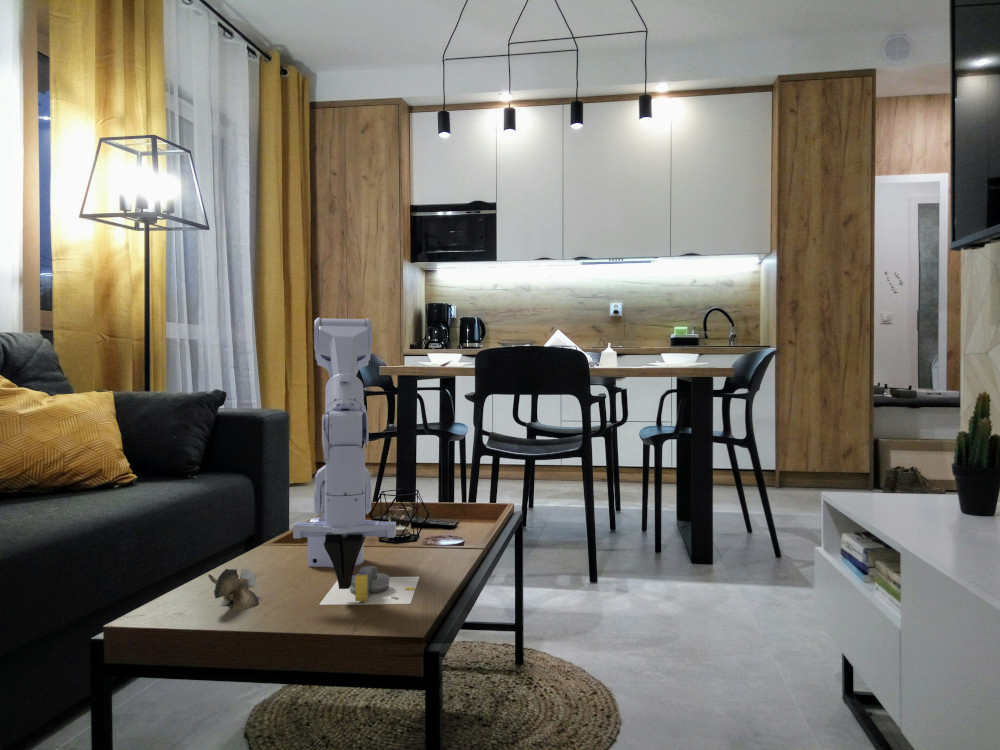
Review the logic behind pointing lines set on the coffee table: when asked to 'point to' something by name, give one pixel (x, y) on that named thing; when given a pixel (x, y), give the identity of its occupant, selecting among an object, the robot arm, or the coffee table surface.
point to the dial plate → (395, 594)
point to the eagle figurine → (236, 588)
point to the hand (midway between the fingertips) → (345, 587)
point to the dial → (368, 583)
